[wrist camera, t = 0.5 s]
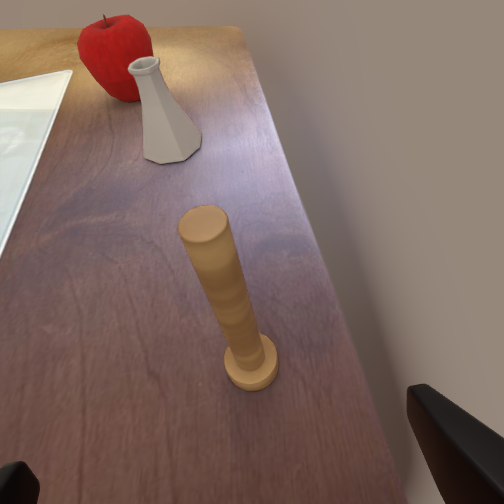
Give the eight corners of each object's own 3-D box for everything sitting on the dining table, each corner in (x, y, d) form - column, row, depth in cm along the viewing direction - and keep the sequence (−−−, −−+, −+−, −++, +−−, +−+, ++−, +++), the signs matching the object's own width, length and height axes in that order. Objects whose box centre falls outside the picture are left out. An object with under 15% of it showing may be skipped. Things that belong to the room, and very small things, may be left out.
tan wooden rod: (283, 385, 24) (254, 247, 12) (230, 396, 24) (155, 267, 13) (273, 336, 26) (242, 183, 15) (225, 346, 26) (158, 200, 15)
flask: (160, 129, 47) (130, 48, 39) (211, 131, 45) (189, 46, 37) (134, 163, 42) (94, 80, 35) (189, 167, 40) (159, 80, 33)
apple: (154, 74, 58) (127, -5, 49) (176, 95, 52) (149, 10, 44) (96, 96, 56) (58, 17, 47) (113, 120, 50) (72, 36, 41)
